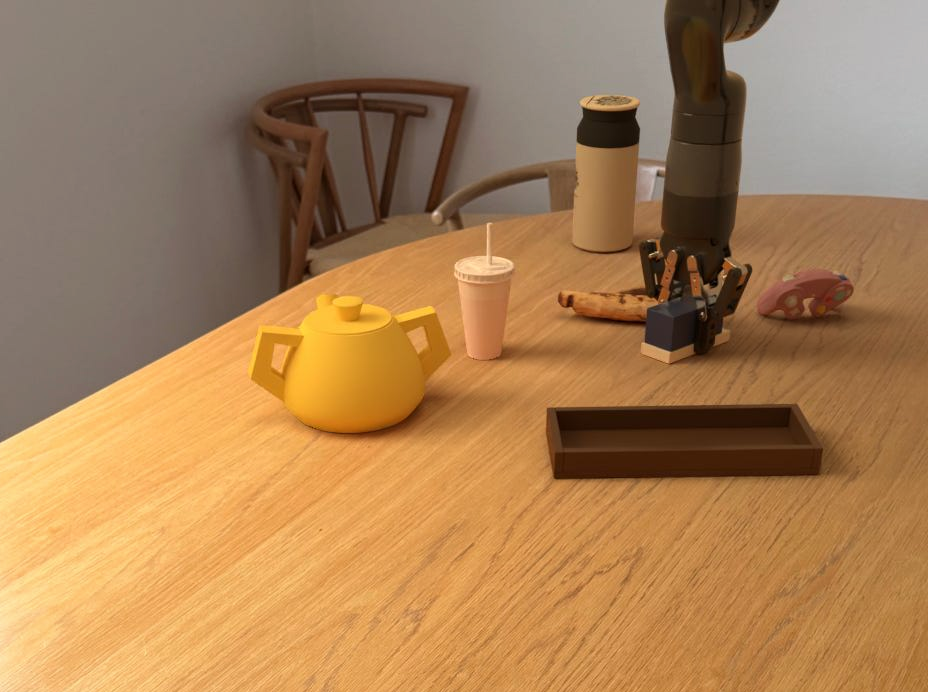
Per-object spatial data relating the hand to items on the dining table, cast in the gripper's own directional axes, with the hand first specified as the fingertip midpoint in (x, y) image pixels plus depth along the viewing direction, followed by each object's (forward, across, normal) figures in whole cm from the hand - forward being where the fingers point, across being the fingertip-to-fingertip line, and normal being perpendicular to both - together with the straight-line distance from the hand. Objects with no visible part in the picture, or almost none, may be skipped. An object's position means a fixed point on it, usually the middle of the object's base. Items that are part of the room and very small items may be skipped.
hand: (685, 344), depth 137 cm
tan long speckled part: (0, +10, -3) cm, 11 cm away
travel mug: (0, +32, -20) cm, 37 cm away
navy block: (0, 0, 0) cm, 0 cm away
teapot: (0, +13, +36) cm, 38 cm away
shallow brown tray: (0, -17, +20) cm, 26 cm away
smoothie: (0, +13, +18) cm, 22 cm away
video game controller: (0, -3, -17) cm, 18 cm away
